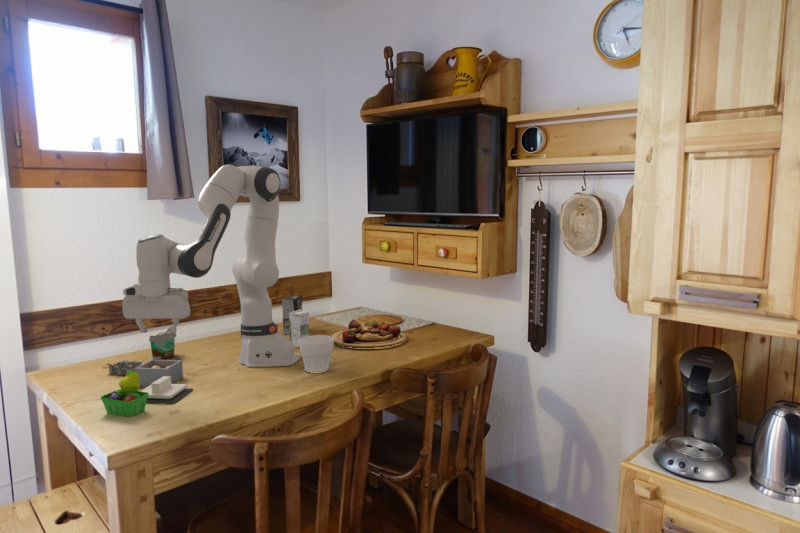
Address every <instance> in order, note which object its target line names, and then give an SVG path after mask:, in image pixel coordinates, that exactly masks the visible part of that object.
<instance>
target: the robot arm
mask: <svg viewBox="0 0 800 533" xmlns="http://www.w3.org/2000/svg"><path fill="white" fill-rule="evenodd" d="M280 188H281V178H280V175H279V173H278V172H277V170H275V169H274V168H270V167H268V166H261V165H259V166H258V165H232V164H224V165H222V166H221V167H219V168H218V169H217V170H216V171H215V172H214V173H213V174H212V175H211V177H210V178H209V180H208V181H207V182H206V184H205V185H204V187H203V188H202V190H200V192H199V195H198V198H197V206H198V208H199V210H200V212H201V213H202V214H203V215H204V216H205V217H206V222H205V224H204V226H203V229H202V230H201V232H200V235H199V236H198V238H197V240H196V241H194V242H193V243H192V242H191V243H190V244H189V243H180V242H177V241H175V240H171V239H170V238H167V237H165V236H164V235H163V234H161V233H155V234H149V235H148V234H147V235H145V236H142V237H141V238H139V239H138V241H137V243H136V251H135V252H136V253H135V254H136V255H135V256H136V266H137V270H138V278H137V280H138V283H136V284H133V285H132V286H128V287H125V288H124V289H123V290H122V294H123V295H124V297H123V298H122V315H123V317H124V318H125V319H128V320H129V319H132V320H133V319H134V320H135V323H136V325H137V327H138V328H139V333H142V334H143V333H144V334H145V333H148V326H147V325H145V323H144V319H146V320H147V319H149V320H150V319H153V320H155V319H156V320H158V319H159V320H161V319H165V320H166V319H167V320H169V319H170V320H171V323H172V325H171V326H169V327H168V329H169V330H170V331H169V332H170V333H175V332H176V333H177V327H178V324H179V322H180V320H181V319H182V320H184V319H186V318H188V317H190V315H191V309H190V308H191V307H190V303H189V292H188V291H187V290H185V289H184V288H182V287H177V288H176V287H175V288H173V287H171V280H170V278H171V277H170V275H171V274H177V275H183V276H187V277H191V278H195V279H196V278H197V279H198V278H202V277H204V276H205V275H207V274H208V273H209V271H210V270H211V268H212V266H213V264H214V258H215V253H216V251H217V248H218V246H219V245H220V243H221V239H222V238H223V236H224V234H225V232H226V230H227V227H228V225H229V222H230V220H231V216H232V215H231V213H232V209H233V208H234V205H235V204H236V202H237V201H238V198H240V196H241V197H244V198H245V197H246V198H249V207H248V211H247V218H246V225H245V229H244V242H245V246H246V247H245V248H246V255H242V256H240V257H238V258H237V259H235V261H234V262H233V264H232V266H231V268H232V269H231V270H232V274H233V277H234V279H235V283H236V289H237V292H238V297H239V302H240V315H241V316H240V317H241V323H240V338H241V349H240V355H239V359H238V362H239V363H240V364H241V365H244V366H245V367H248V368H258V367H259V368H260V367H261V368H263V367H265V368H266V367H267V368H268V367H269V368H270V367H289V366H292V365H295V364H296V363H298V362H299V361H300V360H301V358H300V357H301V353H299V352H295V348H294V347H293V344H292V342H291V341H290V338H289V339H288V338H287V337H285V335H284V334H281V333H280V332H279V331H278V330H279V329H278V327H279V323H275V322H274V321H273V307H272V299H271V298H270V296H269V295H270V294H269V292H268V288H270V287H272V286H275V284H276V283H277V282H278V280H279V276H280V272H279V267H278V265H277V256H276V238H277V230H278V224H279V215H280V198H279V195H278V194H279V192H280ZM299 359H300V360H299ZM298 360H299V361H298ZM297 361H298V362H297ZM295 362H296V363H295ZM294 363H295V364H294Z"/></svg>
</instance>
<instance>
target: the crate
mask: <svg viewBox="0 0 800 533" xmlns="http://www.w3.org/2000/svg"><path fill="white" fill-rule="evenodd" d="M135 371H137V374H138V375H139V382H140V387H142V388H143V387H144V388H146V387H148V386H150V385H151V383H153V382H155V381H156V380H158V379H160V378H161V377H163V376H171V384H176V383H177V382H178V381H179V380H181V379H183V378H184V373H183V372H184V371H183V359H182V360H181V359H180V360H179V359H168V360H153V359H149V360H148V361H146V362H143V363H142V364H141V365H140V366H138V367H136V368H135Z"/></svg>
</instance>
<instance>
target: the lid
mask: <svg viewBox="0 0 800 533" xmlns="http://www.w3.org/2000/svg"><path fill="white" fill-rule="evenodd" d="M188 387H189V386H188V384H186V383H174V384H171V376H163V377H161V378H160V379H158V380H156V381H155V382H153V383H151V385H150V386H148V387H144V389H141V390H140V391H141V392H147V393H149V394H148V397H147V399H170V398H172V397H174V396H175V395H176V394H178V393H179V392H181V391H182V390H184V389H185V388H188Z"/></svg>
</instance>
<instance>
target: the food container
mask: <svg viewBox="0 0 800 533" xmlns="http://www.w3.org/2000/svg"><path fill="white" fill-rule="evenodd" d="M169 331H170V330H169V328H167V331H164V332H160V333H158V334H156V335H149V339H148V342H150V343H149V344H150V348H151V349H150V350H151V357H152V360H172V359H173V358H174V357H175V346H176V345H175V342H176V341H175V340H176V337H177V331H176V332H175V333H170V332H169Z"/></svg>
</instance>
